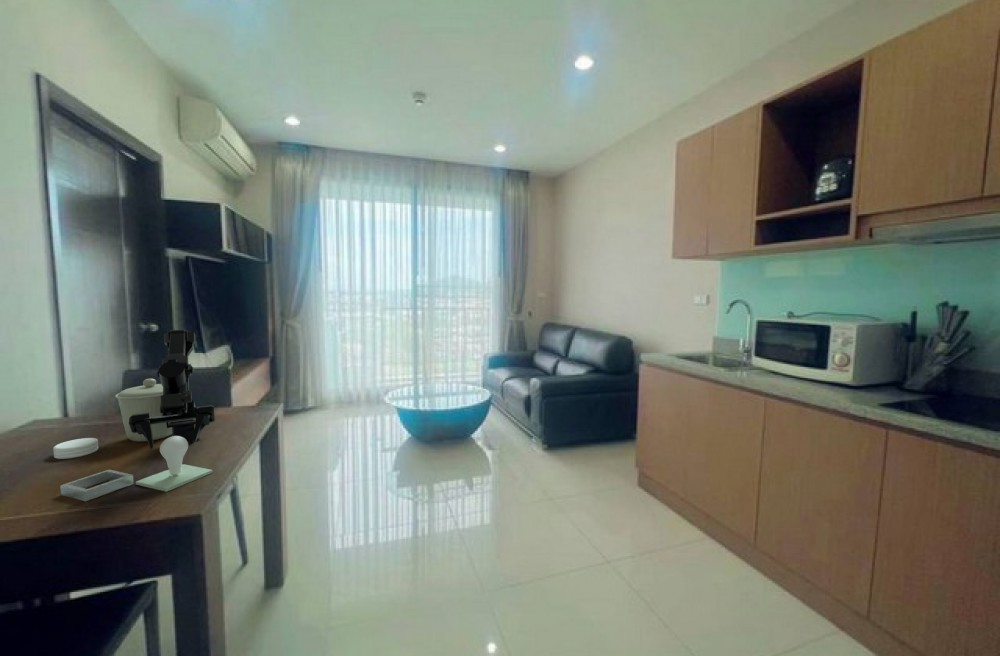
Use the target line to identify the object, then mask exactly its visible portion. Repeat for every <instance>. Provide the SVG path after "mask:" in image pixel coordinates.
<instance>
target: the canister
mask: <svg viewBox="0 0 1000 656" xmlns="http://www.w3.org/2000/svg"><path fill="white" fill-rule="evenodd" d="M142 384H143V385H138V386H133V387H128V388H126V389H124V390H121V391H120V392H119V393H116V394H115V395H114V398H116V399H118V401H117V402H118V406H119V409H120V410H119V411H120V414H121V419H122V423H123V426H124V427H123V428H124V430H125V434H126V436H127V438H128V439H129V440H130V441H132V442H148V441H147V439H146V438H145V436H144V435H143V434H138V433H133V432H132V431H131V428H130V425H129V417H130V416H131V415H133V414H141V413H149V416H150V417H156V416H162V413H160V404H161V395H163V386H162V385H161V383H157V380H156V379H154V378H145V379H144V380H143V382H142ZM170 423H171V422H170ZM151 430H152V436H153V441H156V440H159V439H160V440H161V439H163V438H164V439H165V438H168V437H169V436H170V437H171V435H172V427H171V428H167V424H166V422H165V423H158V424H151Z"/></svg>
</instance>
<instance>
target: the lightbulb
mask: <svg viewBox="0 0 1000 656" xmlns="http://www.w3.org/2000/svg"><path fill="white" fill-rule="evenodd" d="M188 449H189V444H188V442H187V440H186V439H185V438H183V437H181V436H173V435H172V436H170V437H169V436H168V437H166V439H164V440H163V441H162V443H161V444H160V446H159V452H160V454H161V456H162V457H163V458H164V459H165V461H166V464H167V468H168V470H169V474H170V475H173V476H175V475H178V474H179V473H180V472H181V465H182V464H183V461H184V460H183V459H184V457H185V455H186V453H187V451H188Z"/></svg>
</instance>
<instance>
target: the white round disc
mask: <svg viewBox="0 0 1000 656" xmlns="http://www.w3.org/2000/svg"><path fill="white" fill-rule="evenodd" d="M99 447H100V446H99V439H97V438H95V437H85V438H84V437H83V438H77V439H72V440H67V441H64V442H61V443H58V444H56V445H55V446H53V448H52V450H53V452H52V453H53V457H54V458H55V459H58V460H62V459H63V460H64V459H65V460H66V459H73V458H74V459H75V458H79V457H82V456H83V457H84V456H87V455H90V454H92V453H96V452H97V451H98V450H99Z"/></svg>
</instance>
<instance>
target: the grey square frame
mask: <svg viewBox="0 0 1000 656" xmlns="http://www.w3.org/2000/svg"><path fill="white" fill-rule="evenodd" d="M107 481H108V482H107ZM97 484H98V485H97ZM131 485H134V474H130V473H126V472H121V471H118V470H112V469H106V470H104V471H100V472H97V473H94V474H90V475H88V476H85V477H81V478H79V479H76V480H73V481H69V482H66V483H64V484H61V485H60V487H59V488H60V496H64V497H68V498H70V499H75V500H78V501H83V502H88V501H91V500H94V499H97V498H99V497H101V496H102V497H103V496H104V495H108V494H110V493H113V492H115V491H118V490H120V489H123V488H126V487H130V486H131ZM92 486H93V487H92ZM89 487H90V488H89Z"/></svg>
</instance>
